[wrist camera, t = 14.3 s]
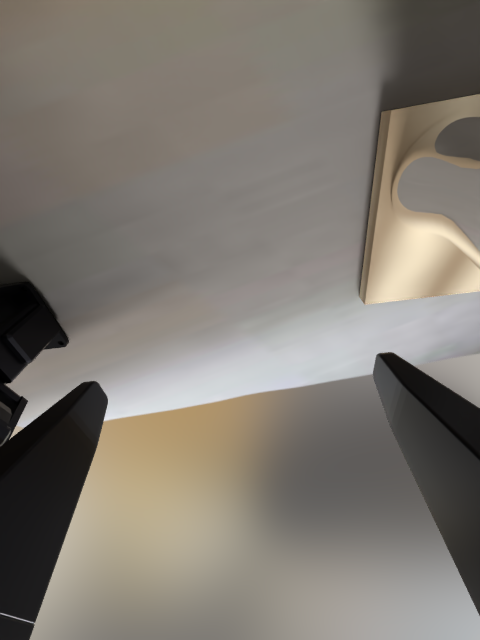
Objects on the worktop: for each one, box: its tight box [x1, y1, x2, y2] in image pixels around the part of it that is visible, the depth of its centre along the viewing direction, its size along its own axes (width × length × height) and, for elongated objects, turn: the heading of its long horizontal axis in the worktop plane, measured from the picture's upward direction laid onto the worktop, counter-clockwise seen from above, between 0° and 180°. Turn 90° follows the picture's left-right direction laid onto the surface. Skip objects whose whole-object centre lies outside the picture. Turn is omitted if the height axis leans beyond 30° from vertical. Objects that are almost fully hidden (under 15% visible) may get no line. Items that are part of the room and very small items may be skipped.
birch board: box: [359, 94, 480, 305], centre depth 17 cm, size 12×12×1 cm
